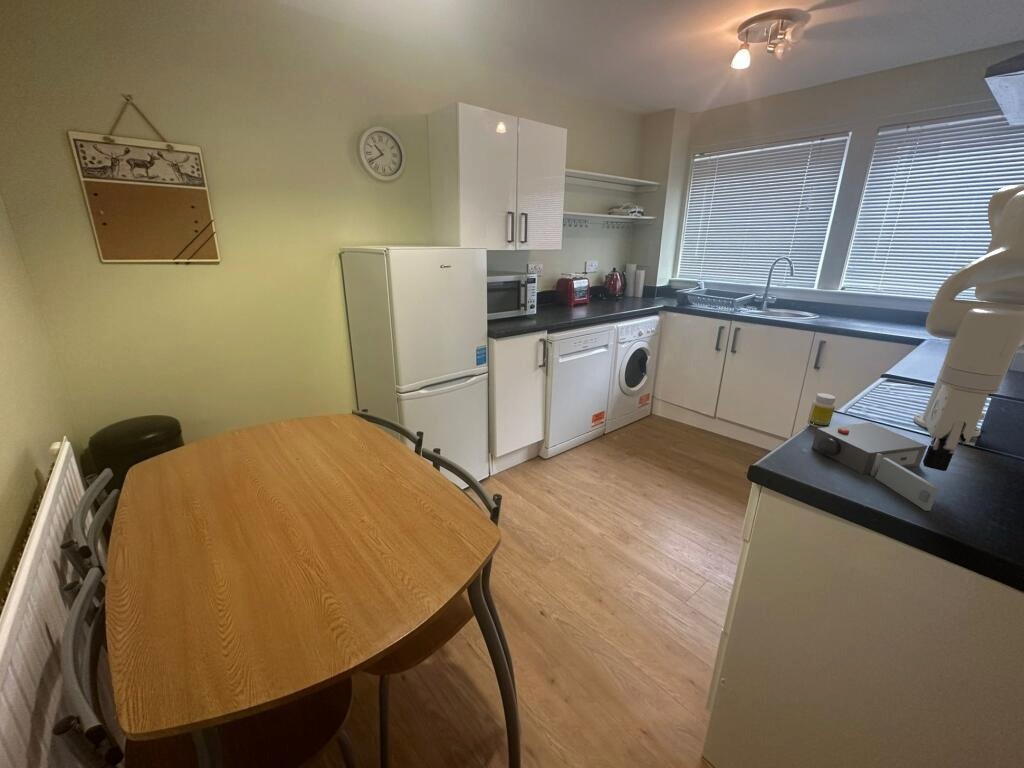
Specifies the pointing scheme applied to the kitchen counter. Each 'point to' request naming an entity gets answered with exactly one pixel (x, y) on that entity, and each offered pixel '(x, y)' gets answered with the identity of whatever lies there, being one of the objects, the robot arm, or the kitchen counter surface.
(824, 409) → the supplement bottle
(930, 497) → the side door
